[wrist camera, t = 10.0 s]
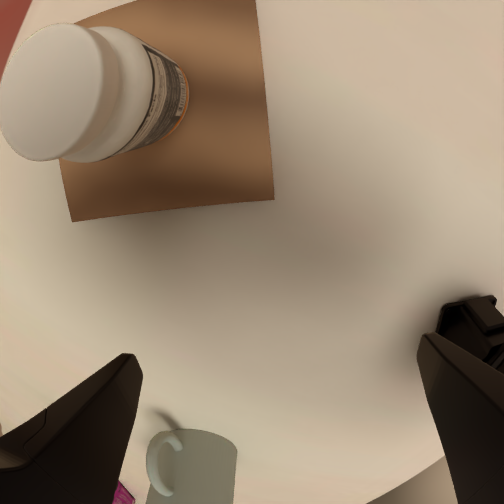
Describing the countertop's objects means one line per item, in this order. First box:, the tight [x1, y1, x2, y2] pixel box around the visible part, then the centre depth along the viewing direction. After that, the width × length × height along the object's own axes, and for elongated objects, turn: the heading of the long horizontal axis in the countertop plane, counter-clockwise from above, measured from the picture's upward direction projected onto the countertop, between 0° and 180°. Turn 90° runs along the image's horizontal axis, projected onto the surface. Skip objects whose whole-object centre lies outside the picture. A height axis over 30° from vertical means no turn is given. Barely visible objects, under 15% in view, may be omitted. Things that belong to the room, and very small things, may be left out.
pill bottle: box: [0, 23, 189, 163], centre depth 11 cm, size 6×6×10 cm
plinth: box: [59, 0, 275, 222], centre depth 16 cm, size 14×14×1 cm
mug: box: [146, 429, 237, 504], centre depth 26 cm, size 14×9×10 cm
